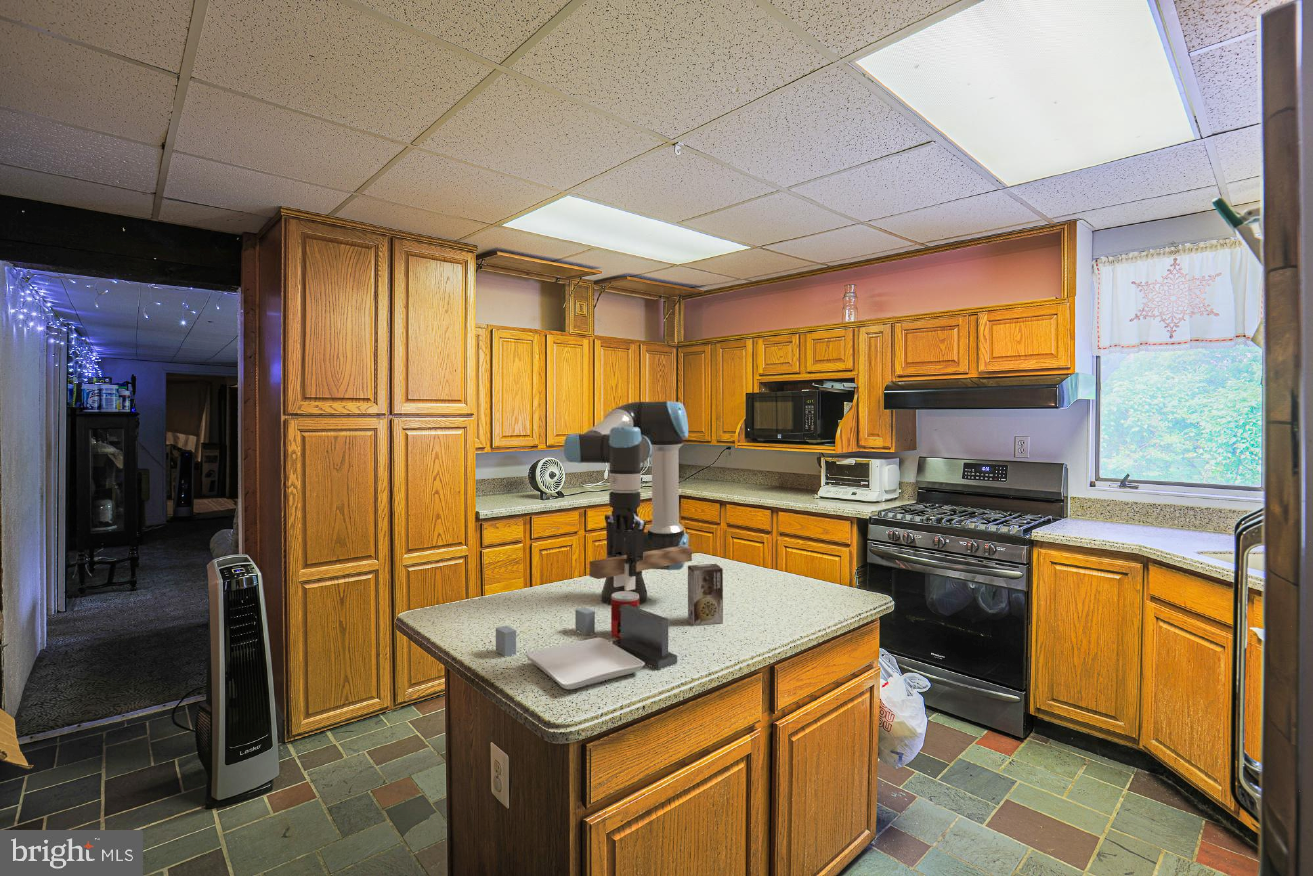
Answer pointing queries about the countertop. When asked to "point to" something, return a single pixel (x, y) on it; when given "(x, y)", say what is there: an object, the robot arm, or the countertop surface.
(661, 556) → the walnut bar
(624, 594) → the canned food
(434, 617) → the countertop surface
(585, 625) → the support blocks
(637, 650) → the ridge
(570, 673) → the salad plate
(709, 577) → the coffee box
